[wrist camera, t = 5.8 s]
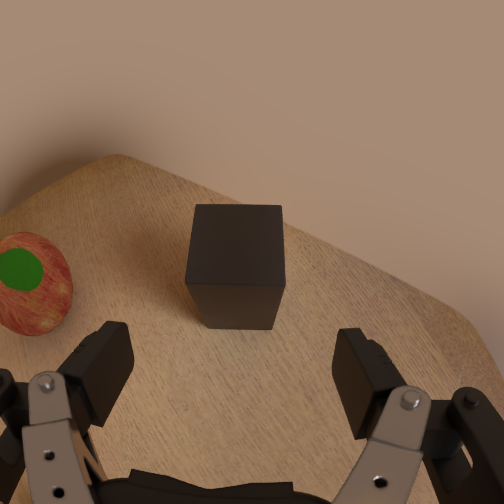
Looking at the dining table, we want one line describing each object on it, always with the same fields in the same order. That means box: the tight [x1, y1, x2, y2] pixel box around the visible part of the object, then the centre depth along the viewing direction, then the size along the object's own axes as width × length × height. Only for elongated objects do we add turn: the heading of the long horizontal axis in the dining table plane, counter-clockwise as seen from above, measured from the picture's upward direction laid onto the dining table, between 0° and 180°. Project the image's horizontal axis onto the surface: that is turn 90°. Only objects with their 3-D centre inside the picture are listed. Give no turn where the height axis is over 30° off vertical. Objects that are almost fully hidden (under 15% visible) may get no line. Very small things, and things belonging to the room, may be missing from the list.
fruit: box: [0, 232, 73, 336], centre depth 18 cm, size 9×10×10 cm
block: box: [185, 204, 286, 330], centre depth 19 cm, size 5×5×9 cm
